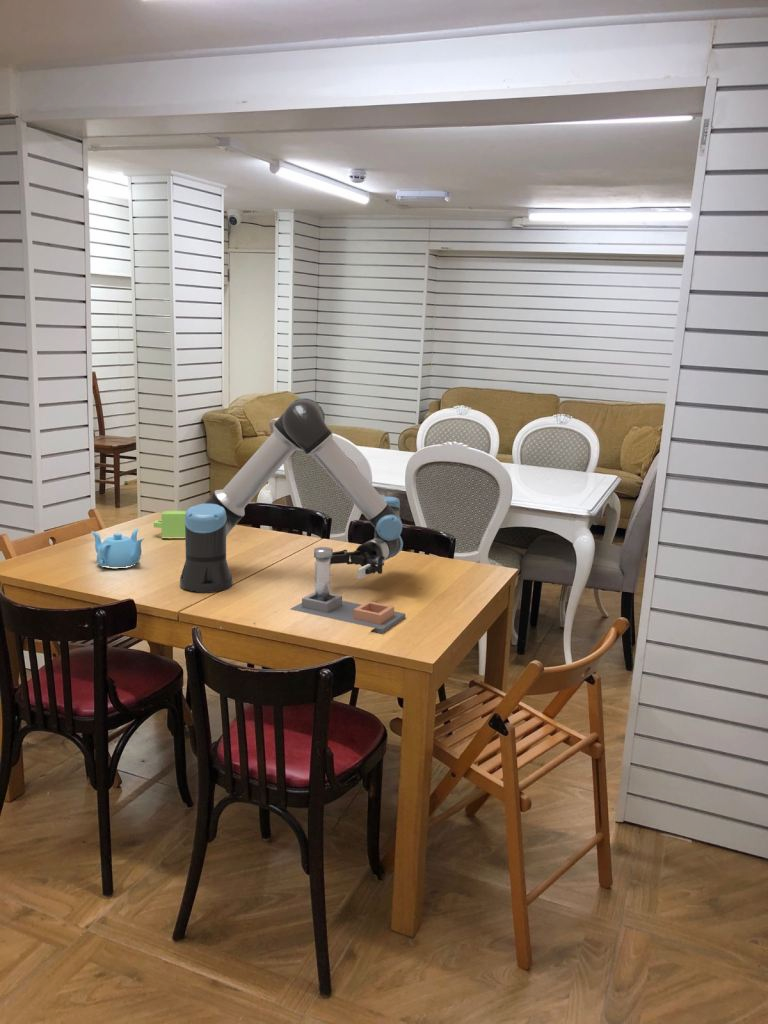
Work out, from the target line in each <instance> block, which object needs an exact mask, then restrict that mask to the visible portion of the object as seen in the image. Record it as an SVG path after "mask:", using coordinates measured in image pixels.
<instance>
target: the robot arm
mask: <svg viewBox="0 0 768 1024" xmlns="http://www.w3.org/2000/svg"><path fill="white" fill-rule="evenodd" d="M272 426H273V427H272V428H273V431H272V433H271V434H270V435H269V436H268V438H267V439H266V440H265V441H264V442H263V443H262V444H261V446H260V447H259V448H257V450H256V451H255V452H254V454H253V455H252V456H251V457H250V458H249V459H248V460H247V461H246V463H245V464H244V465H243V466H242V467H241V468H240V469H239V470H238V472H236V474H235V475H234V476H233V477H232V478H231V480H230V481H229V482H228V483H227V484H226V485H225V486H224V488H223V489H216V490H214V491H213V493H212V494H211V495H210V496H209V497H208V498H207V499H206V500H205V502H204V503H199V504H196V505H193V506H191V507H188V508H187V509H186V510H185V511H186V514H185V539H184V541H185V561H184V564H183V568H182V571H181V575H180V577H179V587H180V586H181V587H182V588H184V589H187V590H190V591H189V592H192V591H196V592H195V593H216V592H220V591H221V590H222V591H224V590H227V589H230V587H231V588H232V585H233V576H232V573H231V571H230V567H229V564H228V562H227V561H228V560H227V537H228V534H229V533H230V532H231V531H232V530H233V528H235V526H236V525H237V524H238V523H239V522H240V521H241V519H242V518H244V516H245V514H246V513H245V508H246V506H247V505H248V504H250V502H251V501H252V500H253V499H254V497H255V496H257V494H258V493H259V492H260V491H261V490H262V489H263V488H264V486H265V485H266V484H267V483H268V482H269V481H270V480H271V478H273V476H274V475H275V474H276V473H277V471H279V469H280V468H281V467H282V466H283V465H284V464H285V462H286V461H287V460H289V458H290V457H291V456H292V455H293V454H294V453H295V452H297V451H303V452H304V453H305V454H306V455H307V456H312V457H313V458H314V459H315V461H316V462H317V463H318V464H319V465H320V466H321V467H322V468H323V470H324V471H325V472H326V473H327V474H328V475H329V476H330V478H331V479H332V480H333V482H334V483H336V485H337V486H338V487H339V488H340V489H341V491H343V493H344V494H345V496H347V497H348V499H350V501H351V502H352V504H354V505H355V506H356V508H357V509H358V510H359V512H360V513H362V515H364V517H365V518H366V519H367V520H368V522H369V523H370V524H371V526H372V527H374V537H373V539H370V540H368V541H366V542H364V543H362V544H360V545H359V546H358V547H356V549H355V550H354V551H348V550H347V549H343V550H340V551H333V557H332V558H331V562H330V565H337V564H338V565H339V564H346V565H356V566H357V565H360V568H358V569H357V575H356V578H357V579H358V580H361V579H362V578H365V577H366V576H368V575H371V574H376V573H377V574H378V575H381V574H383V566H384V565H385V561H387V560H388V559H389V560H390V559H391V558H394V557H395V556H397V555H398V554H399V553H401V551H402V549H403V546H404V541H403V539H402V537H401V533H402V531H403V522H402V520H401V516H400V510H401V507H400V506H401V503H400V499H399V497H395V496H381V495H380V493H379V492H378V491H377V490H376V488H375V487H374V486H373V485H372V484H371V483H370V482H369V480H368V479H367V478H366V477H365V475H364V474H363V473H362V472H361V471H360V469H359V468H358V467H357V466H356V465H355V464H354V462H352V460H351V458H350V457H348V455H347V454H346V453H345V452H344V451H343V450H342V448H341V447H340V445H338V443H337V442H336V441H335V440H334V439H333V431H331V430H330V429H329V427H328V426H327V425H326V423H325V413H324V410H323V407H322V406H321V405H320V404H319V403H318V402H316V401H315V400H314V399H311V398H308V397H307V398H306V397H301V398H297V399H295V400H294V401H293V400H292V401H291V403H290V404H289V405H288V406H287V408H286V409H285V410H284V412H283V413H282V414H281V415H280V416H279V418H277V420H276V421H275V422H274V423H273V425H272ZM314 571H316V560H315V561H314ZM181 587H180V588H181ZM182 588H181V589H182ZM184 589H183V590H184ZM187 590H186V591H187ZM214 591H215V592H214Z"/></svg>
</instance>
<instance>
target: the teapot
mask: <svg viewBox="0 0 768 1024" xmlns="http://www.w3.org/2000/svg"><path fill="white" fill-rule="evenodd" d="M139 530H140V529H139V528H136V529H134V530H133V531H132V534H131V536H130V537H129V536H124V535H123V533H120V532H118V533H113V536H109V537H106V538H105V539H104V540H103V542H102V540H101V536H100V534H99V533H98V532H96V531H94V530H91V534H92V535H93V536H94V549H95V552H96V553H97V554H96V562H97V564H98V563H99V564H98V565H99V566H100V567H101V566H109V567H126V566H131V565H134V564H136V563H137V564H138V563H139V561H140V560H141V556H142V542H143V541H144V538H140V539H137V537H138V532H139ZM137 564H136V565H137Z"/></svg>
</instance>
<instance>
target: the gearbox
mask: <svg viewBox="0 0 768 1024" xmlns="http://www.w3.org/2000/svg"><path fill="white" fill-rule="evenodd" d="M186 511H187V510H163V511H162V512H161V519H160V520H159V519H158V520H154V521H153V528H155V529H156V528H157V529H161V538H162V537H185V514H186Z"/></svg>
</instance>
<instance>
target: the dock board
mask: <svg viewBox="0 0 768 1024" xmlns="http://www.w3.org/2000/svg"><path fill="white" fill-rule="evenodd" d="M290 610H291V611H296V612H301V613H305V614H310V615H314V616H317V617H323V618H328V619H332V620H336V621H337V620H338V621H342V622H345V623H349V624H353V625H354V624H355V625H359V626H364V627H370V628H373V629H371V630H370V632H371V633H375V634H376V633H377V634H381V635H382V634H384V633H385V632H386V631H388V630H390V629H391V628H393V627H394V626H395V625H397V624H398V623H400V622H402V621H403V620H404V619H405V618H406V613H405V612H399V611H395V606H393V605H388V604H384V603H378V602H373V601H370V600H369V601H368V600H367V601H366V602H364V603H362V604H360V603H356V602H352V601H348V600H347V601H346V600H343V595H340V594H335V593H330V600H328V601H326V602H324V601H319V600H315V591H314V592H312V593H310V594H308V595H306V596H304V597H303V598H301V603H298V604H297V605H294V606H293V607H291V608H290Z"/></svg>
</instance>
